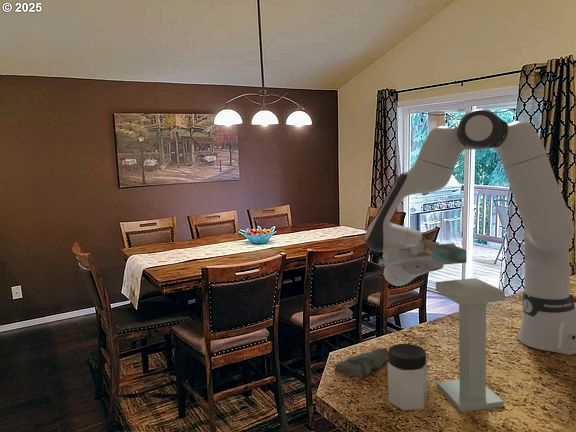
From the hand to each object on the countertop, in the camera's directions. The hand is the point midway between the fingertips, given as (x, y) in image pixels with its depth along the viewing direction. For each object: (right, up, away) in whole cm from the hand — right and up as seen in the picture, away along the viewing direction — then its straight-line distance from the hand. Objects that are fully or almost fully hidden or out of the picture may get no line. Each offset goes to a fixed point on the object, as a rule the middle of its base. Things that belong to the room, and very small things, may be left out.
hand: (430, 245), depth 117 cm
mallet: (+1, -2, -4) cm, 5 cm away
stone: (-15, -33, +5) cm, 37 cm away
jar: (-10, -35, -14) cm, 39 cm away
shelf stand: (+4, -34, -14) cm, 37 cm away
